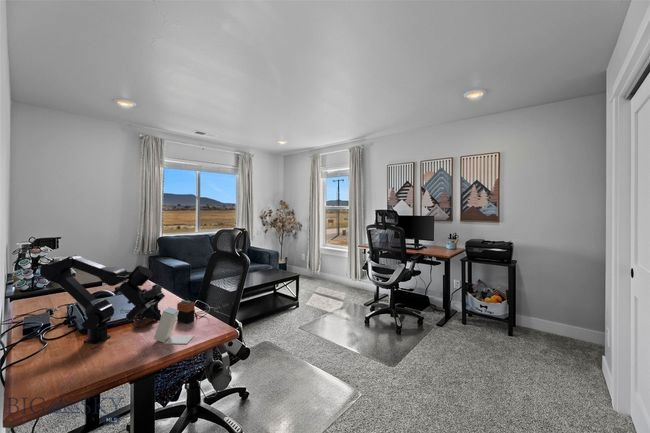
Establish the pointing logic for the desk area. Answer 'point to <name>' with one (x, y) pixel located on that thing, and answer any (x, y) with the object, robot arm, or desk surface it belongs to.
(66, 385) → the desk surface
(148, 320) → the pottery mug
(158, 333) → the cream block
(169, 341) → the felt mat
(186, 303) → the battery
